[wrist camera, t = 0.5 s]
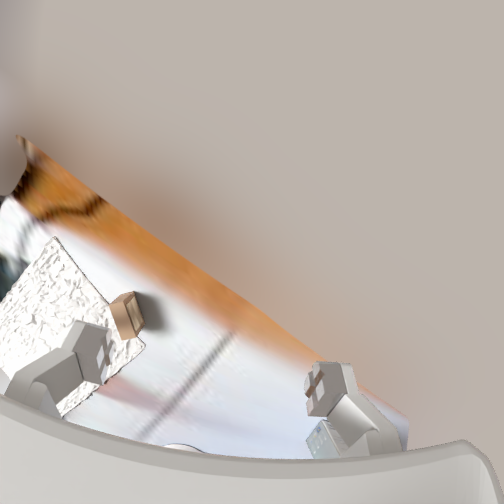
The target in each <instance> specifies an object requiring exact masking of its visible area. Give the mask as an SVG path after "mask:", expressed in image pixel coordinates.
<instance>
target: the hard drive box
mask: <svg viewBox="0 0 504 504" xmlns="http://www.w3.org/2000/svg"><path fill="white" fill-rule="evenodd" d="M306 442H307V444H308V447H309V449H310V451H311V454H312V456H313V458H314V459H330V458H340V456H341V455H342V454H343V453H344V452H345V451H346V450H347V449H349V447H348V446H347V445H346V443H345V442H344V441H343V439H342V438H341V437H340V435H339V434H338V433H337V431H336V430H335V429H334V427H333V426H332V425H331V423H330V422H327V421H324V420H322V421H320V423H319V424H318V425H317V427H316V428H315V429H314V431H313V432H312V433H311V435H310V436H309V437H308V439H307V440H306Z"/></svg>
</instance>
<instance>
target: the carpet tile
mask: <svg viewBox="0 0 504 504" xmlns="http://www.w3.org/2000/svg"><path fill="white" fill-rule="evenodd" d="M77 319H78V320H81V321H85V322H89V323H92V324H96V325H99V326H103V327H106V328H110V329H112V337H111V340H112V341H113V343H114V353H113V359H112V362H111V364H110V365H109V366H107V367H106V368H107V376H106V378H105V381H106V380H107V379H108V378H110V377H111V376H113V375H114V374H115V373H117V372H118V370H119V369H121V368H122V367H123V366H125V365H126V364H127V363H129V362H130V361H131V360H132V359H133V358H134V357H136V356H137V355H138V354H139V353H140V352H141V351H142V350H143V349H144V348H145V346H146V345H145V344H144V343H143V342H142V341H141V340H140V339H139V338H138V337H136V338H132V339H128V340H123V341H122V340H121V338H120V335H119V332H118V330H117V327H116V325H115V322H114V319H113V316H112V314H111V311H110V308H109V304H108V303H107V302H106V301H105V299H104V298H103V297H102V296H101V295H100V293H99V292H98V291H97V290H96V289H95V287H94V286H93V285H92V284H91V283H90V281H89V280H88V279H87V278H86V277H85V276H84V274H83V273H82V271H81V270H80V269H79V268H78V267H77V265H76V264H75V263H74V261H73V260H72V259H71V257H70V256H69V255H68V253H67V252H66V251H65V249H64V248H63V247H62V245H61V244H60V243H59V241H58V240H57V239H56V237H55V236H54V237H52V238H51V240H50V241H49V242H47V243H46V244H45V247H44V248H43V249H42V250H41V252H40V253H39V254H38V255H37V257H36V258H35V260H34V261H33V262H32V263H31V264H30V265H29V267H28V268H27V269H26V270H25V271H24V273H23V274H22V275H21V277H20V278H19V280H18V281H17V282H16V283H15V284H14V285H13V286H12V289H11V291H9V292H7V296H6V297H5V298H4V299H3V301H2V302H1V304H0V367H1V368H2V369H3V371H5V373H6V374H7V375H8V376H9V378H10V380H12V378H13V376H14V374H15V372H16V371H18V370H20V369H21V368H23V367H25V366H26V365H28V364H30V363H32V362H33V361H35V360H37V359H38V358H40V357H42V356H43V355H45V354H47V353H48V352H50V351H52V350H54V349H55V348H57V347H58V348H61V346H62V344H63V342H64V340H65V338H66V336H67V334H68V332H69V330H70V329H71V327H72V325H73V323H74V322H75V321H76V320H77ZM105 381H104V382H105ZM100 386H101V385H98V384H94V383H90V382H87V381H84V382H83V383H82V384H81V385H80V386H78V387H77V388H76V389H75V390H74V391H72V392H71V393H70V394H69V395H68V396H66V397H65V398H64V399H63V400H62V401H60V402H59V403H58V404H57V405H56V407H57V409H58V411H59V413H60V414H61V416H62V417H63V416H64V415H65V414H66V413H67V412H69V411H70V410H71V409H73V408H74V407H75V406H77V405H78V404H79V403H80V402H81V401H83V400H85V399H86V398H87V397H88V396H89V395H90V394H91V392H93V391H94V390H96V389H97V388H99V387H100Z"/></svg>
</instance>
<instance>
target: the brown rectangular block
mask: <svg viewBox="0 0 504 504" xmlns="http://www.w3.org/2000/svg"><path fill="white" fill-rule="evenodd" d="M109 308H110V311H111V314H112V316H113V319H114V322H115V325H116V327H117V330H118V332H119V335H120V338H121V340H122V341H123V340H128V339H132V338H136V337H137V335H138V334H139V332H140V331H141V329H142V328H143V326H144V324H145V322H144V319H143V316H142V313H141V310H140V308H139V305H138V302H137V299H136V296H135V293H134V291H132V292H129V293H125V294H121V295H120V296H119V297H117V298H116V299H115V300H114V301H113V302H112V303H111V304H109Z"/></svg>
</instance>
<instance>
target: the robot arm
mask: <svg viewBox="0 0 504 504" xmlns="http://www.w3.org/2000/svg"><path fill="white" fill-rule="evenodd" d="M111 337H112V329H110V328H106V327H103V326H99V325H96V324H92V323H89V322H85V321H81V320H78V319H77V320H76V321H75V322H74V323H73V325H72V327H71V329H70V330H69V332H68V334H67V336H66V338H65V340H64V342H63V344H62V346H61V348H58V347H57V348H55V349H54V350H52V351H50V352H48V353H47V354H45V355H43V356H42V357H40V358H38V359H37V360H35V361H33V362H32V363H30V364H28V365H26V366H25V367H23V368H21V369H20V370H18V371H16V372H15V374H14V376H13V378H12V380H11V382H10V384H9V386H8V388H7V390H6V392H5V394H4V395H2V394H0V504H504V495H503V492H502V489H501V486H500V483H499V480H498V478H497V475H496V473H495V470H494V468H493V466H492V464H491V462H490V460H489V459H488V457H487V456H486V455H484V453H482V452H481V451H480V450H479V449H477V448H476V447H475V446H474V445H473V444H471V443H470V442H468V441H466V440H458V441H454V442H450V443H445V444H441V445H436V446H431V447H426V448H421V449H415V450H409V451H403V449H402V445H401V442H400V438H399V435H398V431H397V428H396V427H395V426H394V425H393V424H392V423H391V422H390V421H389V420H388V419H387V418H386V417H385V416H384V415H383V414H382V413H381V412H380V411H379V410H378V409H377V408H376V407H375V406H374V405H373V404H372V403H371V402H370V401H369V400H368V399H367V398H366V397H365V396H364V395H363V394H359V390H358V386H357V383H356V379H355V376H354V372H353V369H352V366H351V364H350V363H337V362H322V361H316V362H315V363H314V364H313V366H312V369H313V371H311V372H310V373H308V375H307V377H306V380H305V384H304V390H305V395H306V396H307V397H308V398H309V399H308V401H307V403H306V405H307V412H308V416H317V417H327V419H328V421H329V422H330V423H331V425H332V426H333V427H334V429H335V430H336V431H337V433H338V434H339V435H340V437H341V438H342V439H343V441H344V442H345V443H346V445H347V446H348V447H349V449H347V450H346V451H345V452H344V453H343V454H342V455H341V456H340V458H330V459H267V458H249V457H236V456H226V455H216V454H208V453H203V452H201V451H199V450H197V449H195V448H193V447H190V446H187V445H181V444H170V445H165V446H158V445H153V444H148V443H144V442H139V441H135V440H131V439H126V438H122V437H118V436H115V435H111V434H107V433H104V432H100V431H97V430H93V429H90V428H87V427H84V426H80V425H77V424H74V423H71V422H68V421H65V420H63V419H62V416H61V414H60V413H59V411H58V409H57V407H56V405H57V404H58V403H59V402H60V401H62V400H63V399H64V398H65V397H66V396H68V395H69V394H70V393H71V392H72V391H74V390H75V389H76V388H77V387H78V386H80V385H81V384H82V383H83V382H84V381H87V382H90V383H94V384H98V385H102V386H103V384H104V381H105V378H106V376H107V368H106V367H107V366H109V365H110V364H111V362H112V359H113V353H114V343H113V341H112V340H111Z"/></svg>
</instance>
